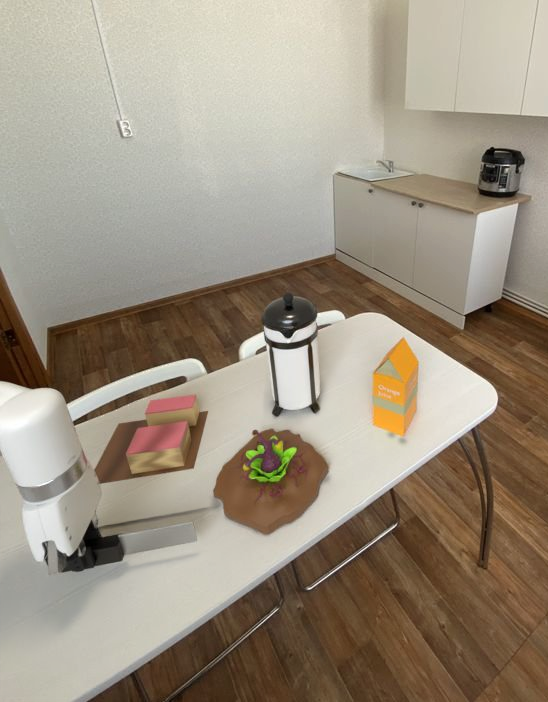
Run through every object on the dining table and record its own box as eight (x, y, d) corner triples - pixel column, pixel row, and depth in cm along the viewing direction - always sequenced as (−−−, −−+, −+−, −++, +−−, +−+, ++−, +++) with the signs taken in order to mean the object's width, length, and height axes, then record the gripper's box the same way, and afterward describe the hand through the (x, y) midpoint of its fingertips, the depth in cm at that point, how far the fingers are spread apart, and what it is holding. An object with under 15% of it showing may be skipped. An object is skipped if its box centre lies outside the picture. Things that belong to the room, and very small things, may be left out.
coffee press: (341, 395, 98) (337, 290, 87) (291, 432, 87) (279, 317, 77) (299, 366, 109) (291, 270, 99) (250, 396, 98) (235, 291, 88)
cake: (86, 489, 75) (77, 465, 72) (119, 426, 89) (113, 404, 87) (194, 472, 78) (189, 448, 76) (209, 413, 93) (204, 392, 91)
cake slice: (149, 432, 87) (144, 413, 85) (155, 418, 90) (150, 400, 88) (196, 425, 88) (192, 406, 86) (199, 412, 92) (195, 394, 90)
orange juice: (416, 410, 93) (420, 340, 86) (403, 437, 85) (406, 362, 78) (387, 400, 96) (388, 332, 89) (372, 424, 89) (371, 352, 82)
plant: (273, 556, 63) (266, 508, 59) (199, 496, 73) (189, 452, 69) (342, 465, 79) (340, 423, 75) (273, 426, 89) (269, 387, 85)
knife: (51, 575, 58) (42, 555, 57) (58, 560, 60) (50, 541, 59) (195, 547, 62) (191, 528, 60) (198, 534, 64) (194, 515, 62)
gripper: (55, 431, 60) (86, 513, 67) (-19, 536, 46) (30, 627, 52) (107, 424, 62) (133, 504, 68) (51, 523, 47) (91, 614, 53)
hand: (88, 557), depth 60 cm, fingers closed on knife, 2 cm apart
